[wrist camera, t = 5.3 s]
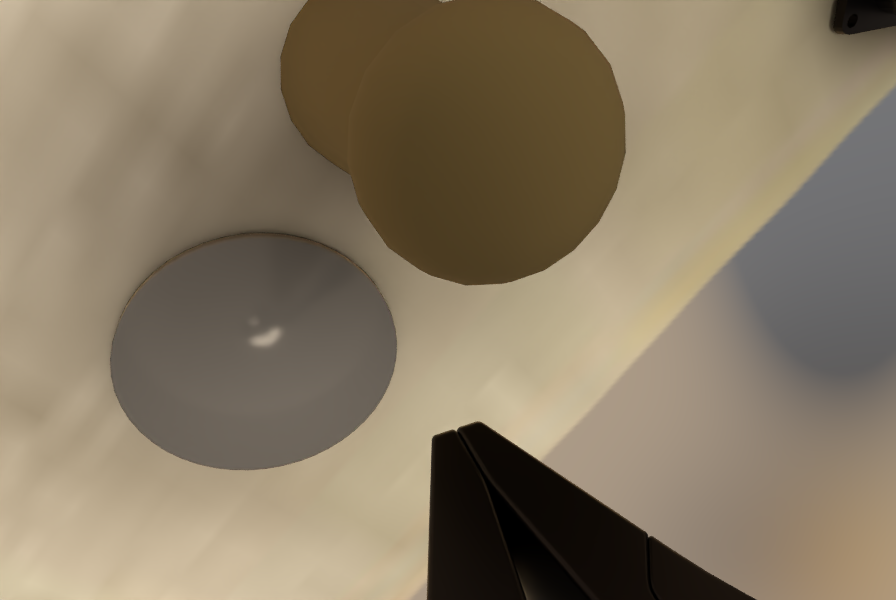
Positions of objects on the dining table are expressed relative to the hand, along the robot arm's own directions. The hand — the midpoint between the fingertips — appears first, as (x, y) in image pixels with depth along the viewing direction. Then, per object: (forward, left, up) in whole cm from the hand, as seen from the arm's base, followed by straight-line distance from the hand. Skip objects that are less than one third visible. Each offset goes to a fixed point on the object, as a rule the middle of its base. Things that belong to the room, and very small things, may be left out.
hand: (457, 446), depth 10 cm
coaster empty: (+4, +5, -13) cm, 14 cm away
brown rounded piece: (-2, -4, -13) cm, 13 cm away
